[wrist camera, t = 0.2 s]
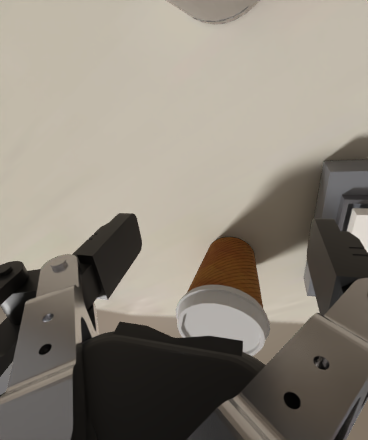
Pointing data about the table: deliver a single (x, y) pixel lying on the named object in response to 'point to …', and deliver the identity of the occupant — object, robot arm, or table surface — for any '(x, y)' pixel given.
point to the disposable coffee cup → (225, 297)
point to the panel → (340, 196)
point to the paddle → (359, 225)
